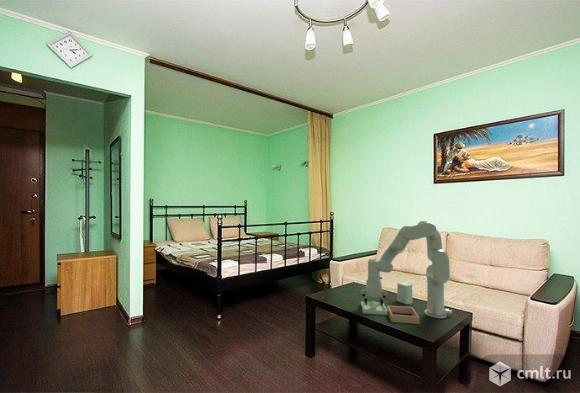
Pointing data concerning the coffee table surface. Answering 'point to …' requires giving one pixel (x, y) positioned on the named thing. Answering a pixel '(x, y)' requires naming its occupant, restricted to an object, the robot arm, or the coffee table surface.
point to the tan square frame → (403, 318)
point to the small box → (404, 293)
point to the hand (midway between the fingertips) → (373, 304)
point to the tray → (378, 311)
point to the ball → (373, 305)
